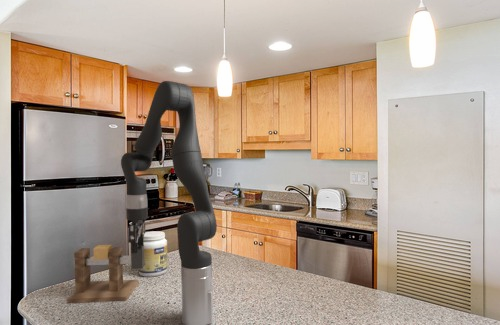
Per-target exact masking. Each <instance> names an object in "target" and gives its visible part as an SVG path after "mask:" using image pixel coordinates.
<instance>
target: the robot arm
mask: <svg viewBox="0 0 500 325" xmlns="http://www.w3.org/2000/svg"><path fill="white" fill-rule="evenodd" d="M195 105H196V104H195V98H194V93H193V89H192V88H191V87H190V85H188V84H186V83H181V82H177V81H170V80H163V81H162V82H160V83H159V84H158V86H157V87H156V90H155V92H154V95H153V97H152V100H151V104H150V107H149V110H148V114H147V116H146V120H145V124H143V125H144V126H143V128H142V130H141V132H140V134H139V136H138V137H137V139H136V141H135V143H134V150H135V152H125V153H124V154H123V155H122V156H121V160H120V167H121V170H122V172H123V175H124V180H125V183H126V184H125V185H126V198H125V209H126V210H125V211H126V212H125V213H126V214H125V216H126V220H127V221H130V222H131V224H130V225H128V226H127V228H128V232H127V233H128V235H127V237H128V240H127V242H128V243H129V244H130V254H131V253H137V252H138V245H144V237H143V236H144V234H145V232H147V231H146V220H147V219H148V216H149V214H148V211H149V210H148V194H147V179H145V178H144V177H138V176H137V175H136V172H146V171H148V170H149V169H150V168H151V166H152V164H153V163H152V162H153V158H154V153H155V151H156V148H157V147H158V146H159V144H160V141H161V140H162V137H163V136H162V135H163V130H162V124H161V123H162V122H161V120H162V117H163V115H164V114H165V112H167V111H170V112H177V115H178V125H179V126H178V131H177V134H176V136H175V139H174V141H173V144H172V148H171V151H170V152H171V159H172V166H173V171H174V173H175V175H176V177H177V179H178V180H179V181H180V182H181V184H182V185H183V186H184V188H185V189H186V190H187V192H188V193H189V195H190V197H191V200H192V203H193V207H194V210H195V211H190V212H185V213H182V214H180V216H179V217H178V220H177V229H176V231H177V232H176V233H177V243H178V255H179V258H180V275H181V276H180V278H181V279H180V280H181V286H180V287H181V322H182V324H183V325H212V324H213V317H214V304H213V303H214V298H213V297H214V296H213V295H214V294H213V293H214V292H213V289H214V288H213V271H212V269H213V268H212V267H213V266H212V265H213V264H212V263H213V262H212V261H213V260H212V255H211V253H210V252H208V251H204V250H200V247H199V246H200V245H199V243H200V242H204V241H208V240H211V239H213V238H214V237H215V236H216V233H217V228H218V226H217V220H216V214H215V210H214V207H213V203H212V200H211V196H210V193H209V188H208V184H207V183H208V182H207V179H206V174H205V169H204V162H203V156H202V152H201V151H202V150H201V145H200V141H199V135H198V134H199V133H198V129H197V119H196V106H195Z"/></svg>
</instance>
